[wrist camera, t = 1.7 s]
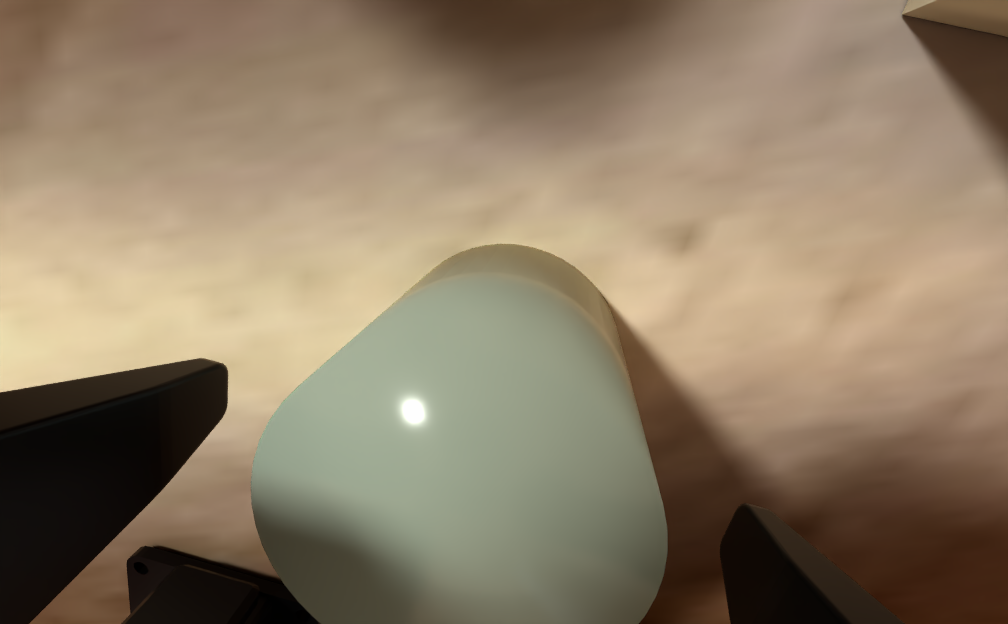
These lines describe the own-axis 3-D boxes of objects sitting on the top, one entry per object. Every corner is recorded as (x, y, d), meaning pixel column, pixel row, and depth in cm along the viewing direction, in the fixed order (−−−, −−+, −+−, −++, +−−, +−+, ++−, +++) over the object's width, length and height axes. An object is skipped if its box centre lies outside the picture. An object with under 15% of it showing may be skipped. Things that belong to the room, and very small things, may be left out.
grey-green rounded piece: (583, 470, 13) (595, 727, 7) (386, 417, 13) (245, 625, 7) (650, 275, 11) (738, 414, 5) (417, 219, 11) (258, 290, 5)
